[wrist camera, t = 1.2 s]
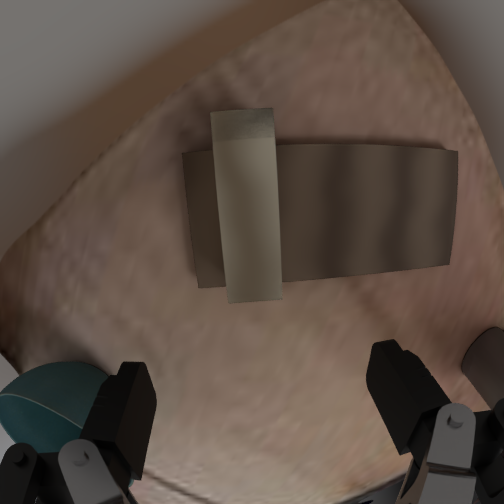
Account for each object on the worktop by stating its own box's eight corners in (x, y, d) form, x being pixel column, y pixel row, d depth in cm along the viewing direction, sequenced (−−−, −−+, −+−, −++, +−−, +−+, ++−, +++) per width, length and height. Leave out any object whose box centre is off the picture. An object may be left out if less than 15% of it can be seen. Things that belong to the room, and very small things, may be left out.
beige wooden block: (265, 117, 24) (272, 107, 18) (274, 273, 29) (282, 307, 23) (217, 120, 24) (210, 112, 18) (231, 276, 29) (229, 311, 23)
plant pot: (119, 440, 39) (101, 500, 27) (25, 374, 34) (-11, 426, 23) (179, 391, 35) (163, 472, 23) (58, 303, 30) (1, 365, 18)
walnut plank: (446, 149, 26) (458, 151, 24) (439, 258, 30) (449, 264, 28) (186, 152, 25) (182, 153, 24) (201, 279, 29) (198, 288, 28)
